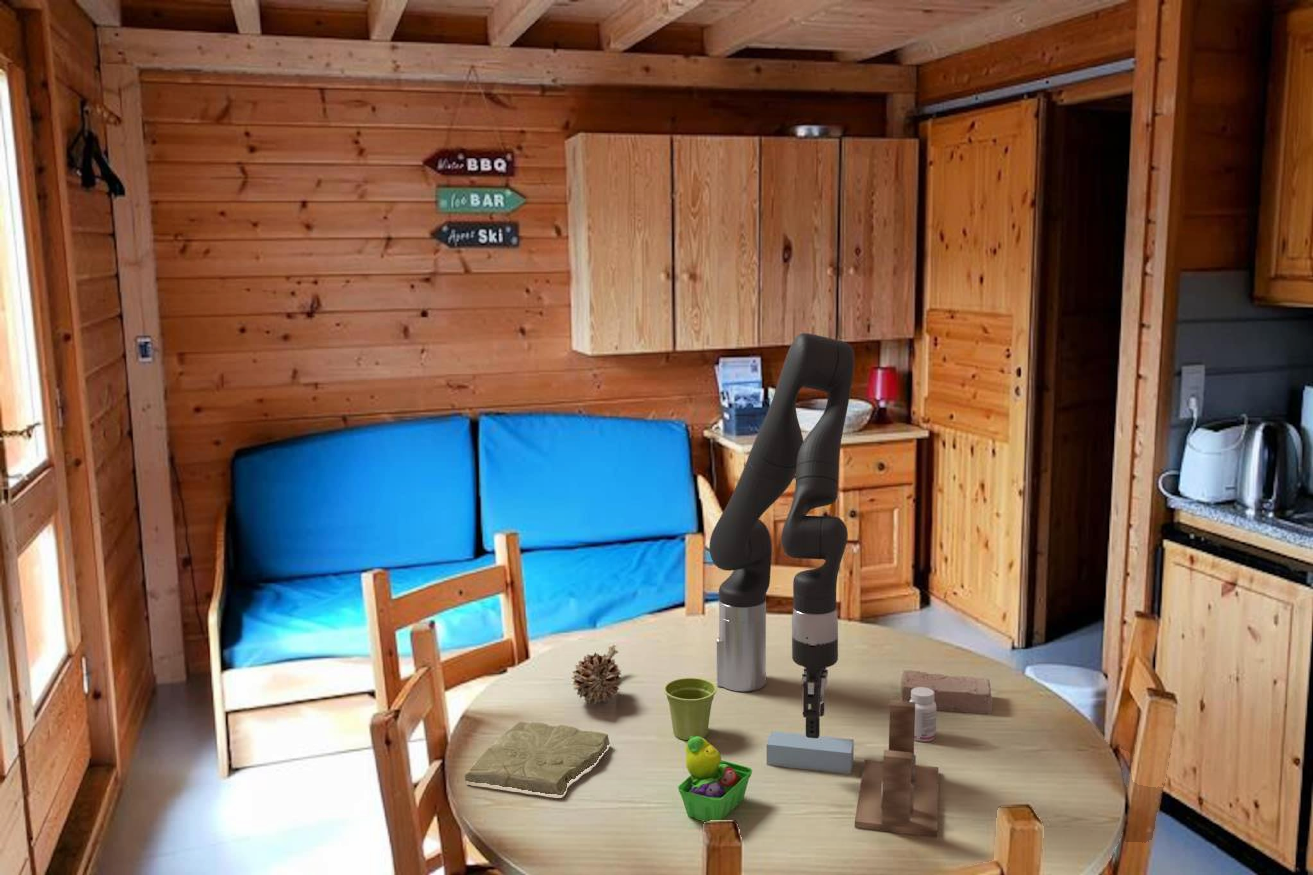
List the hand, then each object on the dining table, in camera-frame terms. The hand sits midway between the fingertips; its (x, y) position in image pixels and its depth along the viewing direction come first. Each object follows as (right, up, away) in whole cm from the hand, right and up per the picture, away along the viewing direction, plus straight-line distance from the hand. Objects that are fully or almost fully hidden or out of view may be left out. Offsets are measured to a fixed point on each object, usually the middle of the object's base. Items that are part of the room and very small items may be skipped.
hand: (815, 725), depth 183 cm
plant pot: (-20, -5, +13) cm, 25 cm away
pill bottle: (+20, -5, +10) cm, 23 cm away
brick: (+28, -2, +24) cm, 37 cm away
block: (-1, -7, +1) cm, 7 cm away
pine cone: (-37, -2, +30) cm, 48 cm away
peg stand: (+11, -9, -11) cm, 18 cm away
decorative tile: (-46, -8, +2) cm, 47 cm away
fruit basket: (-18, -10, -12) cm, 24 cm away
